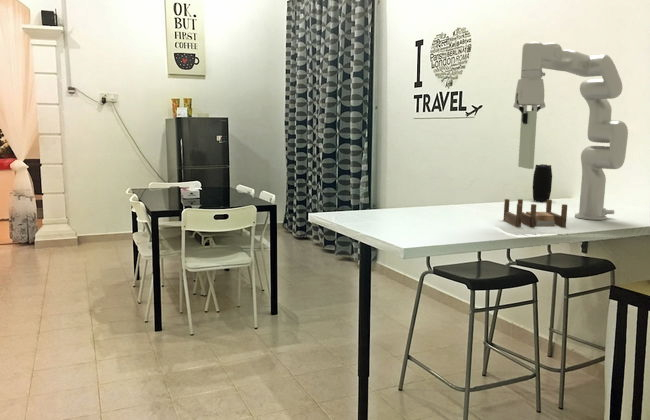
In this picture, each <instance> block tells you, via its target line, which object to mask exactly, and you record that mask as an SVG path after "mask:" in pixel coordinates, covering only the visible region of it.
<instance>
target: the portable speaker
mask: <svg viewBox="0 0 650 420" xmlns="http://www.w3.org/2000/svg"><path fill="white" fill-rule="evenodd" d="M552 169H553V168H552V165H551V164H543V163H542V164H535V169H534V172H533V179H532V199H533V202H534V201H535V202H537V203H544V202H547V199H550V196H551V192H552V187H553V186H552V184H553V171H552Z"/></svg>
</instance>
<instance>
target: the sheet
mask: <svg viewBox="0 0 650 420" xmlns="http://www.w3.org/2000/svg"><path fill="white" fill-rule="evenodd" d="M527 114H528V118H527V124H523V122H522V113H520V129H519V130H520V132H519V146H518V147H519V148H518V165H517V166H518V168H523V169H528V170H533V169H534V166H535V151H536V150H535V148H536V135H537V134H536V132H537V118H538V112H537V111H531V110H527ZM534 170H535V169H534Z"/></svg>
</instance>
